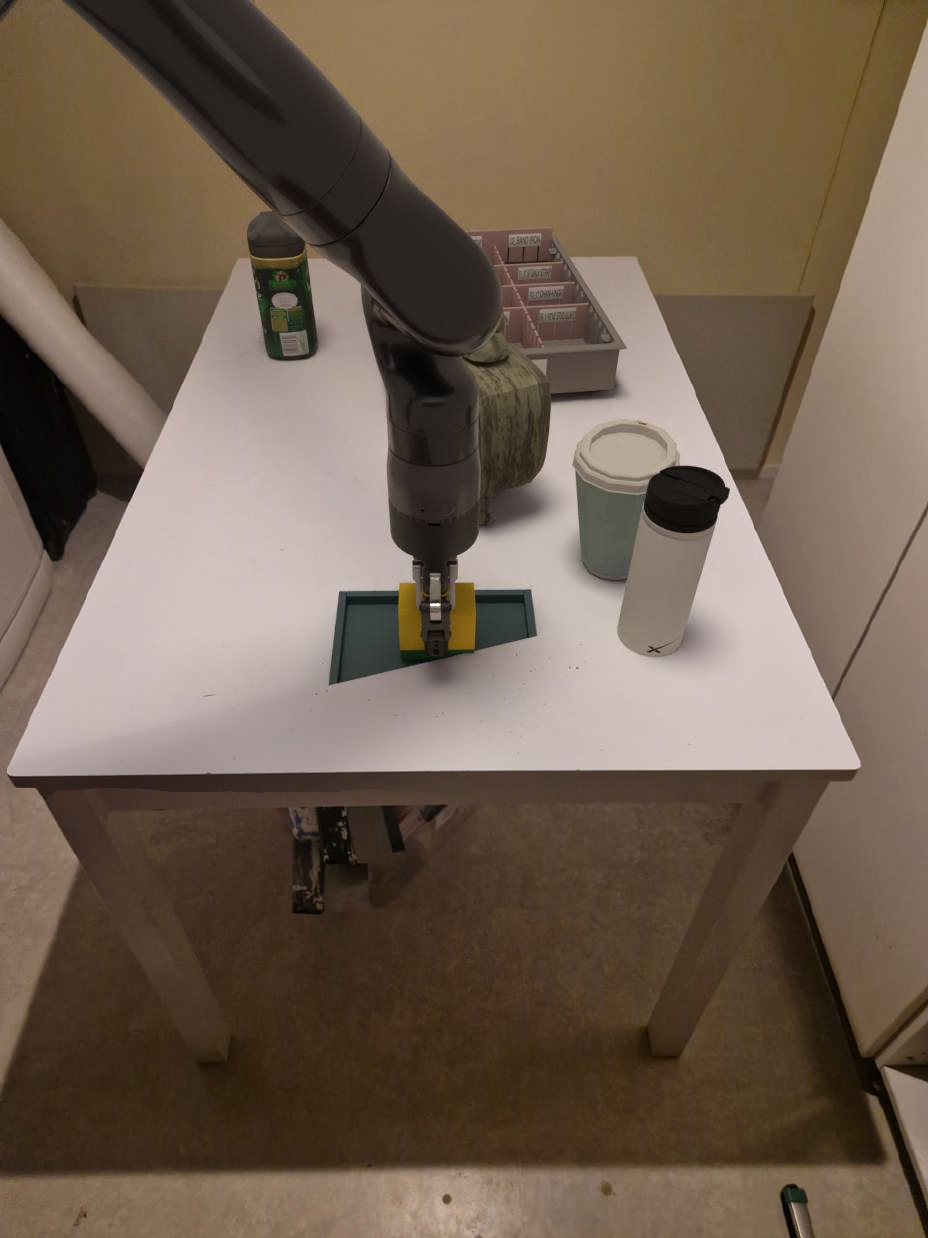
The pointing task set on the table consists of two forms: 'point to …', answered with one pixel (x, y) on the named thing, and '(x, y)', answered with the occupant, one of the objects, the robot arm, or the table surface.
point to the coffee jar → (282, 287)
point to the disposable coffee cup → (616, 489)
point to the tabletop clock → (509, 417)
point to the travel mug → (669, 557)
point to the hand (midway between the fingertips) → (436, 634)
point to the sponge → (459, 618)
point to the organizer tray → (551, 310)
